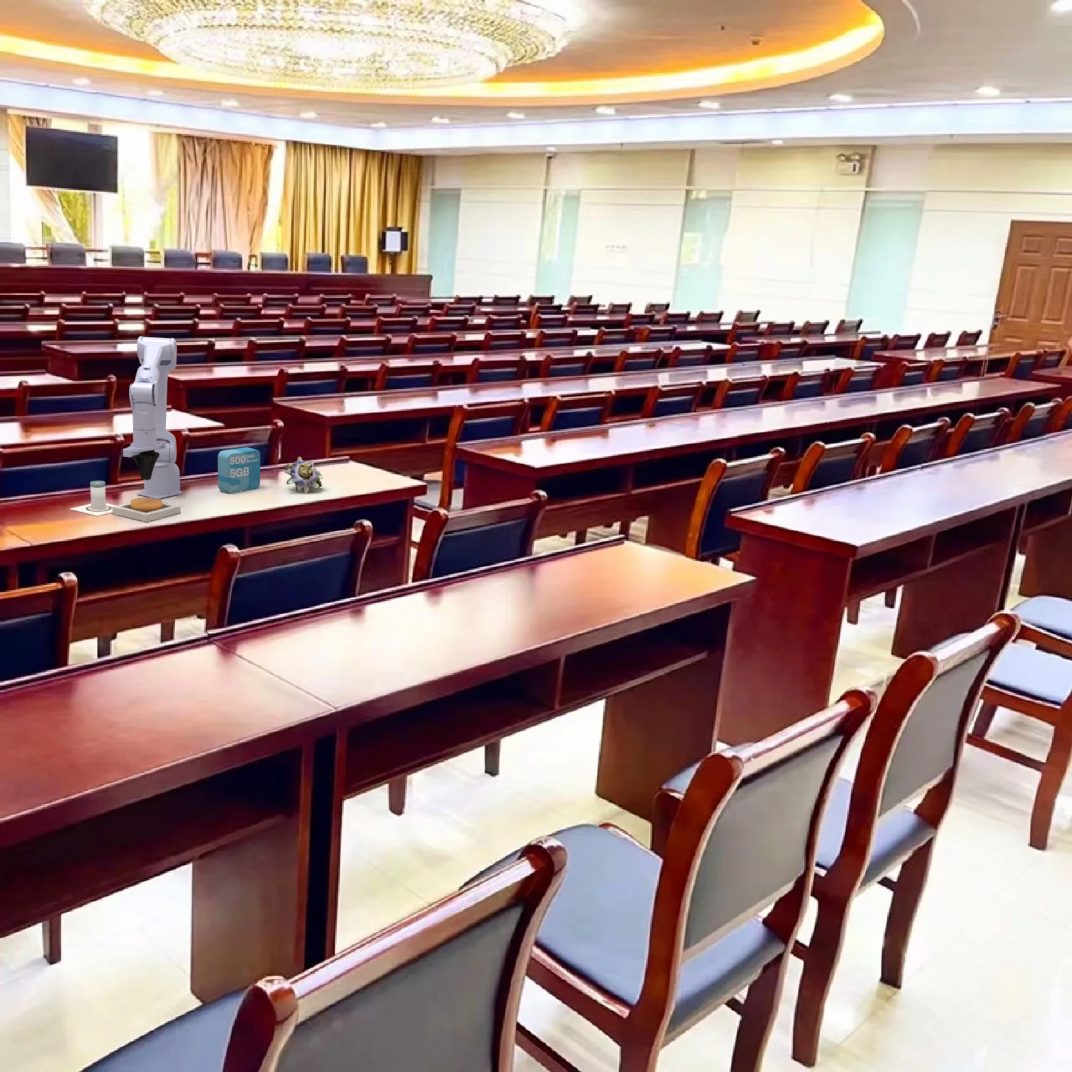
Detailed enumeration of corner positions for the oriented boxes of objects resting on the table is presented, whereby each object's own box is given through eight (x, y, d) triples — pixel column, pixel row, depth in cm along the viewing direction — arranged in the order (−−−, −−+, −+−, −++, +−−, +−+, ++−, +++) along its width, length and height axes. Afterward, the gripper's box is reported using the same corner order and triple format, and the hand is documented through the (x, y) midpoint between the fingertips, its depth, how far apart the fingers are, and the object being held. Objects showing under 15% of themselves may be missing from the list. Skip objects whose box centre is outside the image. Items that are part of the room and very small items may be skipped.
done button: (146, 501, 280) (146, 495, 280) (169, 507, 277) (169, 501, 277) (123, 507, 273) (123, 501, 273) (146, 512, 270) (146, 506, 270)
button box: (147, 505, 284) (146, 498, 283) (180, 513, 279) (180, 506, 278) (112, 514, 273) (112, 506, 272) (146, 522, 268) (146, 515, 268)
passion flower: (305, 510, 312) (288, 482, 303) (287, 495, 319) (270, 468, 310) (334, 487, 315) (319, 459, 307) (316, 473, 322) (300, 445, 314)
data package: (227, 494, 301) (227, 454, 298) (217, 491, 304) (217, 451, 301) (260, 488, 311) (260, 449, 308) (250, 485, 313) (250, 446, 310)
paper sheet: (100, 502, 283) (100, 501, 283) (127, 508, 279) (127, 507, 279) (69, 509, 274) (69, 508, 274) (97, 516, 270) (97, 515, 270)
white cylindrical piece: (99, 505, 279) (98, 480, 277) (108, 507, 277) (108, 482, 275) (88, 508, 275) (87, 482, 274) (97, 510, 274) (96, 484, 272)
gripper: (150, 422, 277) (151, 472, 281) (112, 430, 264) (114, 482, 268) (172, 426, 275) (173, 475, 279) (135, 434, 262) (137, 486, 266)
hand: (145, 479), depth 273 cm, fingers closed
